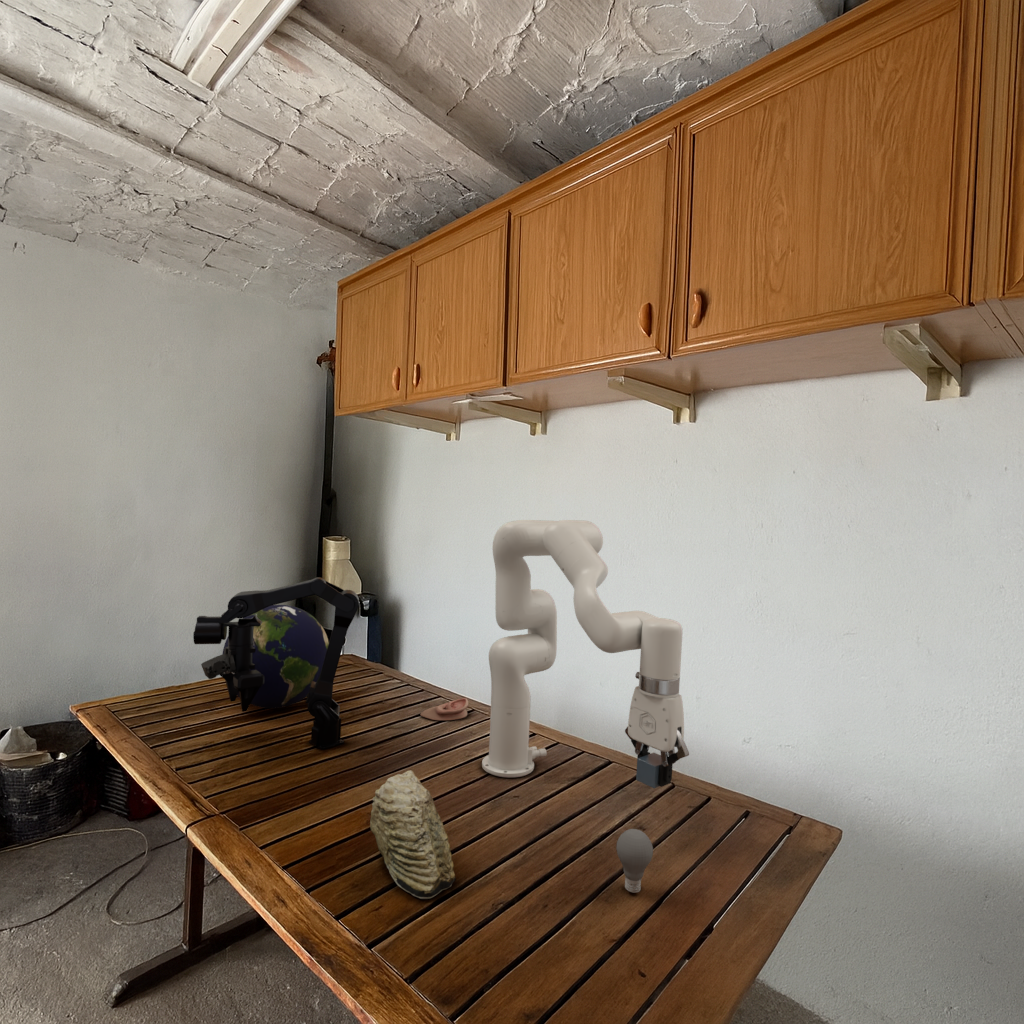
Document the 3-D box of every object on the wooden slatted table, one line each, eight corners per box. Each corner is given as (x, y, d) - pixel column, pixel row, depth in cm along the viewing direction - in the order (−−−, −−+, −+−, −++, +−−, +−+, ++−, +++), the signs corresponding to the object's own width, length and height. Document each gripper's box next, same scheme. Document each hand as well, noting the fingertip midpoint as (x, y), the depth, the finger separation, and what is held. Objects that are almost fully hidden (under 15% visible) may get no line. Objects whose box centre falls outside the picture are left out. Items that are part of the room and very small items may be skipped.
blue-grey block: (635, 779, 121) (637, 758, 121) (652, 773, 124) (653, 752, 124) (654, 788, 117) (655, 766, 117) (671, 781, 121) (672, 760, 121)
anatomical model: (416, 704, 183) (430, 693, 194) (416, 718, 183) (429, 705, 194) (461, 709, 180) (471, 697, 192) (460, 723, 180) (471, 710, 192)
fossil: (399, 838, 118) (402, 759, 118) (464, 883, 106) (468, 794, 105) (357, 856, 112) (361, 772, 112) (421, 906, 99) (425, 811, 99)
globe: (289, 685, 209) (292, 594, 208) (348, 705, 191) (352, 606, 191) (199, 706, 185) (203, 604, 184) (258, 732, 167) (262, 619, 167)
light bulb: (610, 879, 108) (613, 822, 108) (644, 879, 109) (647, 822, 109) (619, 902, 102) (622, 840, 102) (655, 901, 103) (658, 840, 103)
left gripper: (195, 639, 159) (193, 701, 159) (216, 655, 144) (214, 723, 145) (241, 635, 166) (239, 694, 166) (266, 650, 151) (263, 714, 152)
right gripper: (612, 676, 124) (607, 768, 125) (685, 700, 111) (679, 802, 112) (636, 670, 129) (631, 759, 129) (709, 693, 116) (703, 791, 117)
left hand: (238, 706), depth 157 cm, fingers open, 9 cm apart
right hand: (653, 778), depth 121 cm, fingers closed on blue-grey block, 4 cm apart
